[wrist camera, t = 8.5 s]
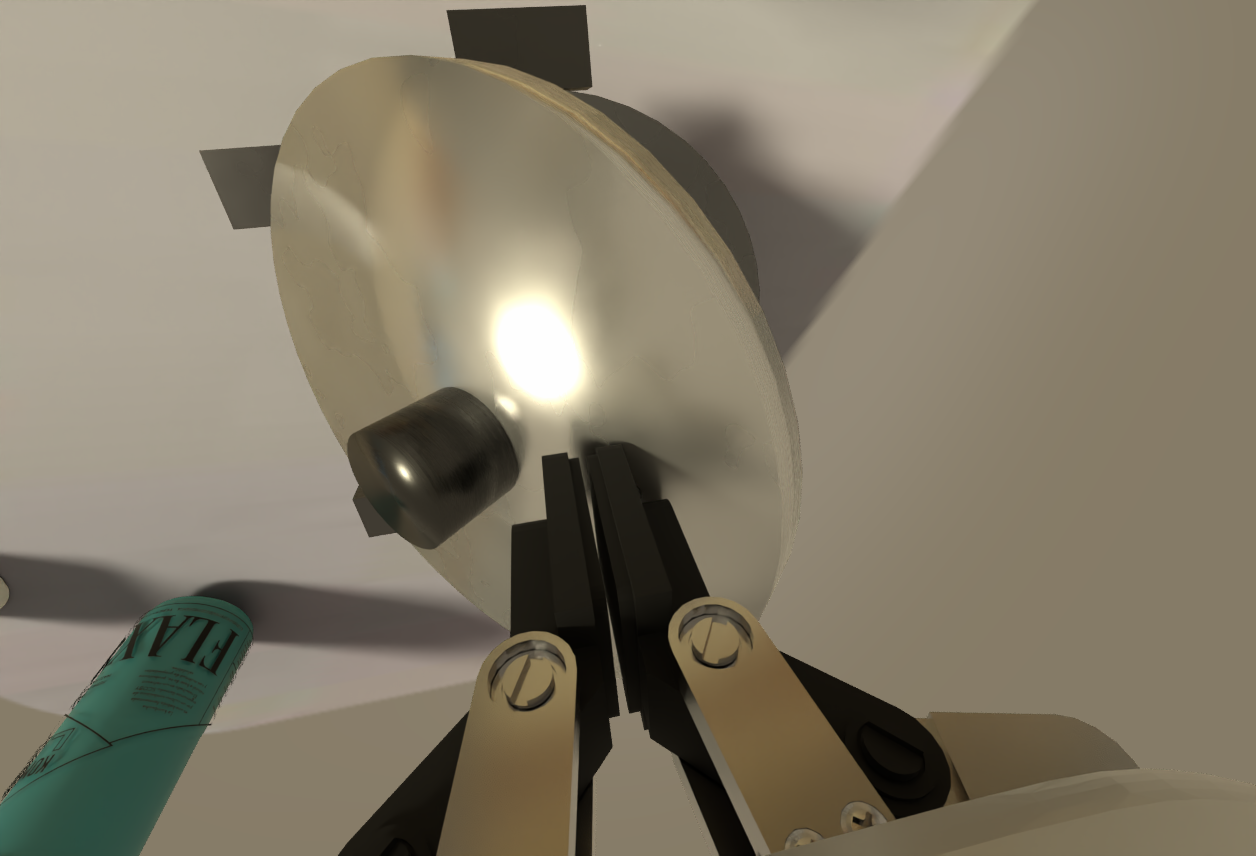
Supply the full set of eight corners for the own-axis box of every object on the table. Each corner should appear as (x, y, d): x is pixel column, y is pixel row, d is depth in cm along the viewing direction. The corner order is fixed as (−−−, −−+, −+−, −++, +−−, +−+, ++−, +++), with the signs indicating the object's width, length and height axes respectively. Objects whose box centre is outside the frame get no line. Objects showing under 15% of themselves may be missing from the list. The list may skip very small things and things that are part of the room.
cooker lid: (236, 97, 14) (61, 97, 11) (882, -25, 6) (781, -120, 3) (407, 538, 22) (329, 594, 20) (766, 736, 14) (712, 875, 12)
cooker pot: (303, 62, 21) (135, 6, 12) (687, 43, 24) (802, -16, 14) (427, 451, 32) (391, 587, 22) (687, 412, 34) (753, 520, 25)
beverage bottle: (280, 591, 35) (61, 1021, 18) (249, 650, 37) (27, 1085, 20) (169, 563, 32) (-215, 1040, 15) (142, 628, 34) (-220, 1111, 17)
